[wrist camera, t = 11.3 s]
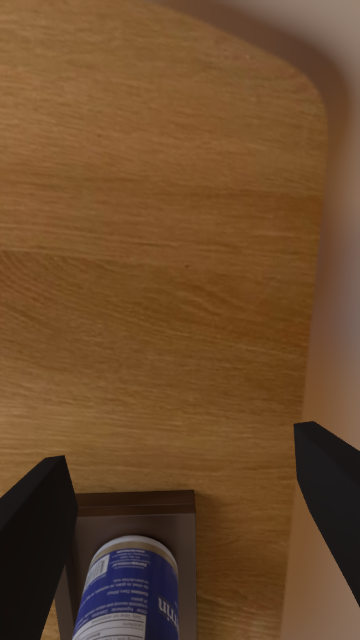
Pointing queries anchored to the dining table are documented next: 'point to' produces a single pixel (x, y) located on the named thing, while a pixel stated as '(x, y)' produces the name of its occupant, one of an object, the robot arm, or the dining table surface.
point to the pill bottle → (130, 593)
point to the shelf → (125, 520)
